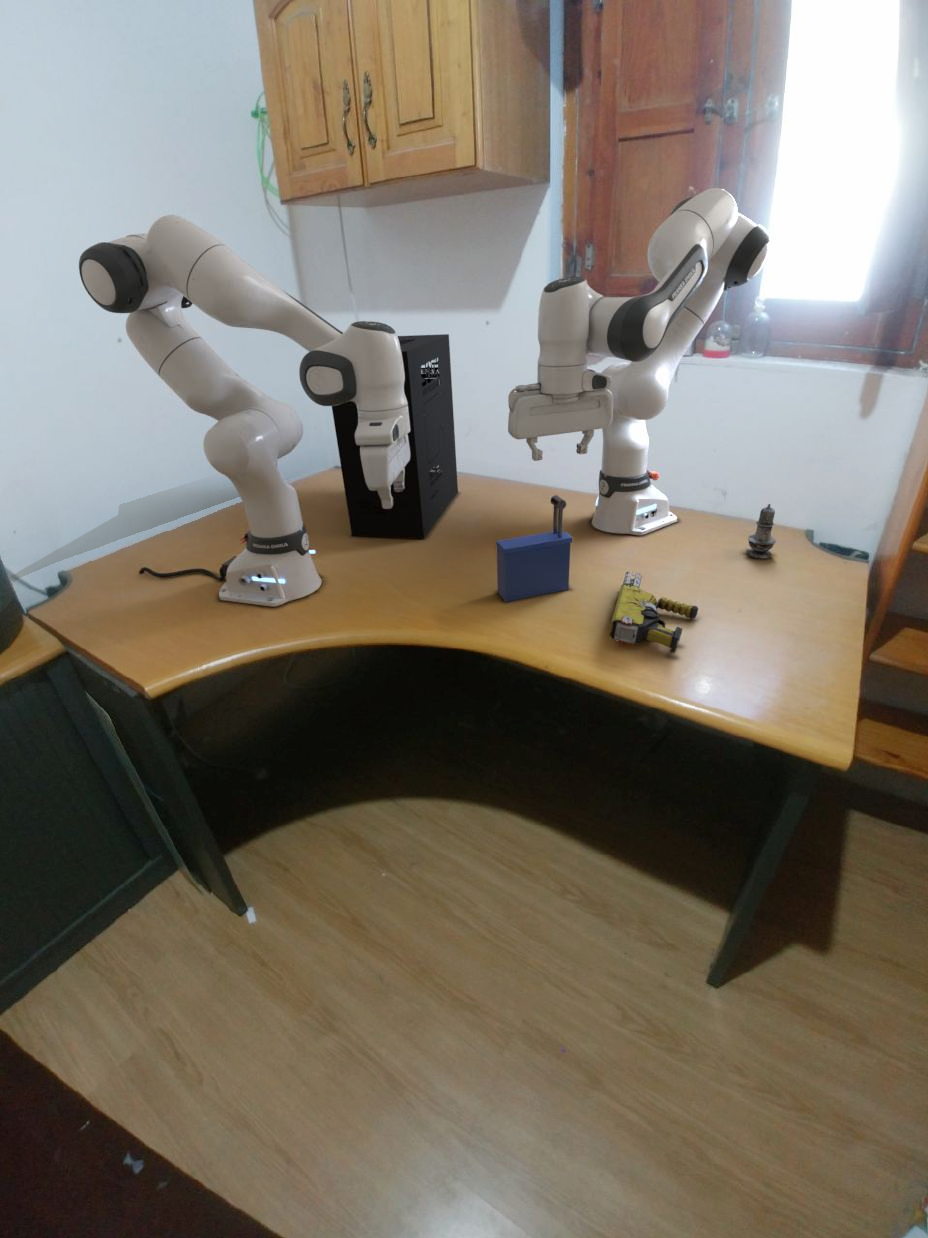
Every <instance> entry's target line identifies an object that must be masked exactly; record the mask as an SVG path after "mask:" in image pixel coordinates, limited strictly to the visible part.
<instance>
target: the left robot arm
mask: <svg viewBox="0 0 928 1238" xmlns="http://www.w3.org/2000/svg"><path fill="white" fill-rule="evenodd" d="M78 271H79V277H80V280H81V283H82V285H83V287H84V290H85V291H86V293H87V294H88V295H89V297H90V298H91V299H92V300H93V302H95V303H96V305H97V306H98V307H100V308H101V309H102V310H104V311H106V312H109V313H113V314H128V316H127V318H126V320H125V333H126V335H127V337H128V339H129V341H130V342H131V343H132V345H133V347H134V348H135V349H136V350H137V352H138V353H139V355H140V356H141V357H142V359H143V360H144V361H145V362H146V363H147V365H148V366H149V367H150V368H151V369H152V370H153V372H154V373H155V374H156V375H157V376H159V378H160V379H161V380H162V381H163V382H164V383H165V384H166V385H167V386H168V387H169V388H170V390H172V391H173V392H174V393H175V395H176V396H178V398H179V399H180V400H181V401H182V402H183V403H184V404H185V405H186V406H187V407H189V409H191V410H192V411H194V412H196V413H199V414H201V415H205V416H207V417H211V418H212V419H214V420H215V421H217V422H216V423H215V424H214V425H212V426H211V427H210V428H209V429H208V430H207V431H206V433H205V435H204V437H203V442H202V444H203V445H202V446H203V451H204V455H205V457H206V459H207V462H208V463H209V464H210V465H211V467H212V468H213V469H214V470H215V471H217V472H218V473H219V474H221V475H223V476H225V477H226V478H228V479H229V481H230V482H231V483H232V485H233V486H234V488H235V490H236V492H237V494H238V495H239V497H240V499H241V502H242V506H243V509H244V513H245V516H246V520H247V524H248V528H249V529H248V530H247V531H245V533H244V534H243V536H242V537H241V538H240V541H241V545H243V544H244V543H245V544H246V546H245V548H244V549H243V550H242V551H240V553H238V554H237V555H233V556H232V557H231V558H229V559H228V560H226V561H224V563H221V567H219V570H218V571H219V572H218V573H219V576H218V575H217V574H215V573H213V572H212V571H210V570H208V569H206V568H199V567H198V568H188V569H183V570H177V571H173V572H163V573H161V572H157V571H154V570H152V569H151V568H149V567H146V566H144V567H142V568H140V569H139V571H138V574H140V575H141V574H142V575H143V573H145V572H146V573H147V574H150V575H151V576H153V577H157V578H173V577H177V576H183V575H189V574H197V573H199V574H205V575H208V576H209V577H211V578H213V579H215V580H217V581H218V582H223V581H225V579H226V581H225V582H224V583H223V584H222V586H221V587H220V588H219V591H218V598H219V600H220V601H226V602H231V603H232V602H233V603H239V604H240V603H241V604H249V605H256V606H265V607H272V608H274V607H279V606H282V605H284V604H286V603H288V602H291V601H294V600H298V599H301V598H304V597H308V596H309V595H311V594H313V593H315V592H316V591H317V590H318V589H319V588H320V587H321V586H322V581H323V580H322V578H321V577H320V575H319V573H318V570H317V568H316V566H315V564H314V562H313V561H314V560H313V558H312V555H311V554H316V550H315V549H310V541H309V535H308V532H307V528H306V524H305V523H304V521H303V518H302V511H301V507H300V502H299V497H298V492H297V490H296V489H295V487H294V486H292V485H291V484H290V483H288V482H286V480H285V479H284V477H283V476H282V473H281V471H280V469H279V466H278V460H279V459H282V458H283V457H285V456H287V455H288V454H290V453H291V452H293V450H294V449H295V448H296V447H297V445H299V443H300V442H301V440H302V439H303V435H304V424H303V420H302V418H301V416H300V414H299V413H298V411H297V410H296V409H295V408H294V407H293V406H291V405H289V404H288V403H285V402H282V401H278V400H277V399H275V398H272V397H271V396H269V395H267V394H266V393H265V392H263V391H261V390H260V389H258V388H257V387H256V386H254V385H253V384H251V383H250V382H248V381H247V380H246V379H245V378H243V377H242V376H241V375H239V373H237V372H236V371H234V370H233V369H232V367H230V366H229V365H228V363H226V362H225V360H224V359H223V358H222V357H220V355H219V354H218V353H217V352H216V351H215V350H214V349H213V348H212V347H211V345H209V344H208V343H207V342H206V341H205V339H203V337H202V336H200V334H199V333H198V332H197V331H196V330H195V329H194V328H193V327H192V326H191V325H190V324H189V323H188V321H187V320H186V319H185V316H184V314H183V310H182V309H188V308H191V307H192V306H193V305H194V306H195V307H197V308H198V309H199V310H200V311H201V312H203V313H204V314H205V315H207V316H208V317H210V318H212V319H214V320H216V321H217V322H219V323H222V324H223V325H226V326H228V327H231V328H242V329H243V328H245V329H256V330H263V331H270V332H274V333H277V334H280V335H283V336H284V337H286V338H289V339H290V340H292V341H293V342H295V343H297V344H298V345H299V346H300V347H302V348H303V349H305V350H306V351H308V352H307V353H306V354H305V355H303V357H302V358H301V361H300V364H299V370H298V372H299V373H298V375H299V381H300V384H301V388H302V389H303V392H304V393H305V395H306V396H307V397H308V398H309V399H310V401H312V402H313V403H315V404H316V405H319V406H321V407H332V406H337V405H340V404H342V403H345V402H348V401H353V402H355V403H356V405H357V410H358V417H359V418H358V426H357V429H356V432H355V441H356V445H361V447H360V456H361V462H362V467H363V472H364V477H365V481H366V484H367V486H368V488H369V490H371V491H378V494H379V496H380V498H381V501H382V507H383V508H384V509H391V508H392V506H393V504H394V503H393V497H392V496H391V492H390V490H391V485H392V483H393V482H394V483H393V485H394V491H395V492H402V491H403V490H404V488H405V487H404V474H405V468H404V467H405V466H406V464H407V463H408V462H409V460H410V446H409V440H408V433H409V432H410V420H409V411H408V402H407V399H406V396H405V393H404V381H405V373H404V365H403V358H402V353H401V348H400V343H399V339H398V336H399V335H398V334H397V332H396V330H395V329H394V328H393V327H392V326H390V325H389V324H386V323H383V322H379V321H371V320H370V321H367V320H361V321H359V320H358V321H355V322H352V323H350V324H349V326H347V328H346V329H345V330H344V332H343V331H342V330H340V329H338V328H337V327H335V326H334V325H333V324H331V323H330V322H329V321H327V320H326V319H324V318H323V317H322V316H320V315H319V314H318V313H316V312H315V311H313V310H312V309H311V308H309V307H308V306H307V305H305V303H304V304H303V303H302V302H301V301H300V300H298V299H296V298H295V297H293V296H292V295H291V294H289V293H288V292H286V291H285V290H283V289H282V288H281V287H280V286H278V285H277V284H275V283H274V282H272V281H271V280H270V279H268V278H267V277H266V276H264V275H263V274H261V273H260V272H259V271H258V270H256V269H255V268H254V267H253V266H251V264H249V263H247V261H246V260H244V259H243V258H241V257H240V256H239V255H238V254H237V253H236V252H234V251H233V250H232V249H231V248H229V247H228V246H227V245H226V244H224V243H223V242H222V241H220V239H218V238H217V237H216V236H213V235H212V234H211V233H209V232H208V231H207V230H205V229H203V228H202V227H200V226H198V225H197V224H195V223H193V222H192V221H190V220H188V219H186V218H185V217H182V216H179V215H175V214H167V215H163V216H161V217H159V218H158V219H156V220H155V221H154V223H152V224H151V226H150V228H149V230H148V232H147V233H146V232H144V233H135V234H128V235H126V236H124V237H120V238H116V239H112V240H110V241H108V242H106V241H105V242H103V241H102V242H98V243H96V244H93V245H91V246H89V247H88V248H86V249H85V250H83V252H82V253H81V255H80V257H79V260H78Z"/></svg>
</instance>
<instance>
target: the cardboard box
mask: <svg viewBox="0 0 928 1238" xmlns="http://www.w3.org/2000/svg"><path fill="white" fill-rule="evenodd" d="M397 336H398V339H399V343H400V348H401V353H402V358H403V365H404V373H405V381H404V393H405V396H406V399H407V402H408V411H409V420H410V432H409V433H408V440H409V446H410V460H409V462H408V463H407V464H406V466H405V467H404V468H405V474H404V487H405V488H404V490H403V491H402V492H395V491H394V485H393V483H394V482H393V483H392V485H391V490H390V492H391V496H392V497H393V503H394V504H393V506H392V508H391V509H384V508H383V507H382V501H381V498H380V496H379V494H378V491H371V490H369V488H368V486H367V484H366V481H365V477H364V472H363V467H362V462H361V456H360V447H361V445H356V441H355V432H356V429H357V426H358V418H359V417H358V410H357V405H356V403H355V402H353V401H348V402H345V403H342V404H340V405H337V406H331V412H332V417H333V425H334V430H335V437H336V443H337V450H338V456H339V463H340V469H341V476H342V483H343V488H344V495H345V501H346V509H347V514H348V520H349V527H350V533H351V536H353V537H373V538H374V537H375V538H378V537H379V538H398V539H401V538H402V539H418V540H419V539H421V540H422V539H423V540H424V539H425V538H426V537H427V536H428V534H429V533H430V531H431V530H432V528H433V527H434V526H435V525H436V523H437V522H438V521H439V519H440V518H441V517H442V515H443V513H444V512H445V511H446V509H447V508H448V507H449V505H450V504H451V503H452V501H453V500H454V499H455V497H456V496H457V494H458V493H459V486H458V484H459V483H458V469H457V468H458V467H457V453H456V433H455V419H454V401H453V400H454V399H453V384H452V381H453V380H452V367H451V350H450V349H451V347H450V334H449V333H445V334H417V335H416V334H415V335H397ZM433 361H434V362H433ZM429 363H430V364H429ZM422 366H424V367H422Z"/></svg>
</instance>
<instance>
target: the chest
mask: <svg viewBox="0 0 928 1238" xmlns="http://www.w3.org/2000/svg"><path fill="white" fill-rule="evenodd" d="M570 563H571V543H568V544H562V545H556V546H551V547H545V548H540V549H534V550H528V551H523V552H517V553H512V554H506V555H504V553H503V552H502V551H501V550H500V549H499V548H498V547H497V546H496V578H497V579H496V580H497V583H496V584H497V594H499V596H500V597H501V598H502V599H503V601H504V602H507V603H508V602H513V601H517V600H523V599H527V598H533V597H537V596H542V595H547V594H548V595H549V594H552V593H557V592H558V593H559V592H563V591H567V590H569V587H570Z"/></svg>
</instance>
